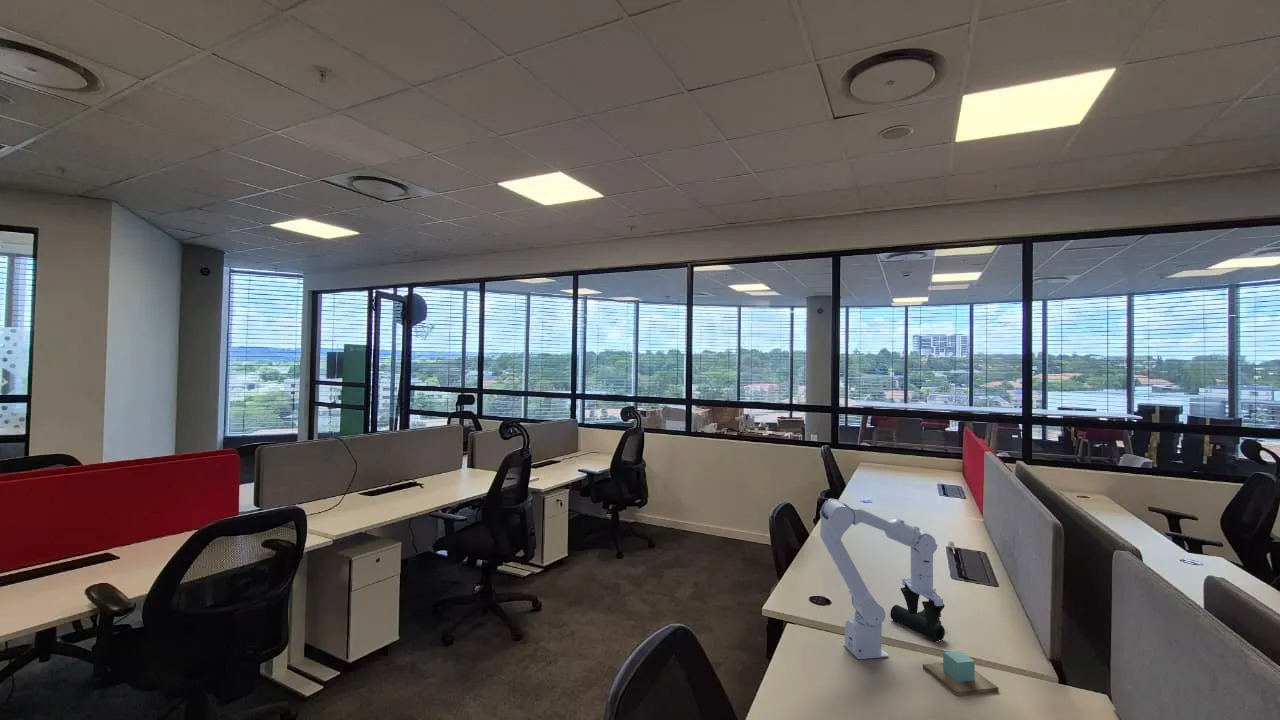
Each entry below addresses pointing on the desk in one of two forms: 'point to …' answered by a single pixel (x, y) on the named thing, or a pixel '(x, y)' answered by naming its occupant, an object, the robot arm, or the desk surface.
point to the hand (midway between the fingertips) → (921, 620)
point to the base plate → (960, 687)
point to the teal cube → (959, 666)
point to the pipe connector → (918, 622)
